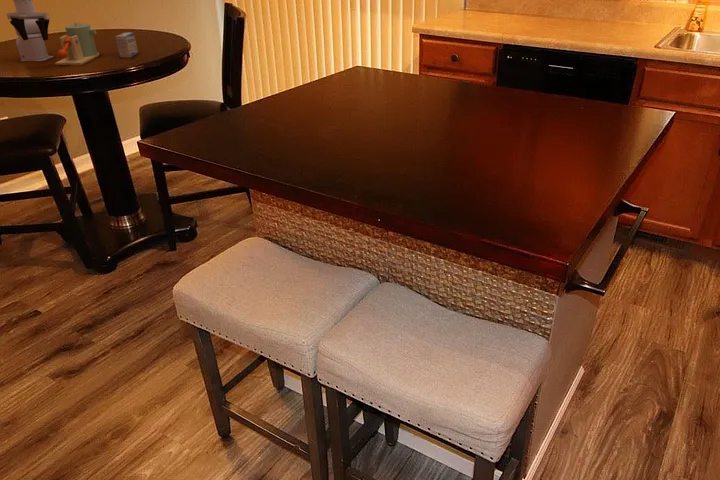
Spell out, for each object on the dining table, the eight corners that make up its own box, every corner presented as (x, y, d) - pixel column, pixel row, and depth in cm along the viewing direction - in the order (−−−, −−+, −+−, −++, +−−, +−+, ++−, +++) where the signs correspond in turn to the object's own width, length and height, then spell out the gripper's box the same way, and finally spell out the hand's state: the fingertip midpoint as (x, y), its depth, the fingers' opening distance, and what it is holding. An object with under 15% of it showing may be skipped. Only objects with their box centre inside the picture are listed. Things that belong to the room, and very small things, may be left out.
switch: (67, 60, 219) (63, 52, 216) (59, 60, 219) (54, 52, 217) (77, 42, 226) (73, 35, 223) (68, 42, 226) (64, 35, 223)
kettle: (68, 60, 231) (57, 24, 223) (81, 54, 240) (71, 19, 233) (96, 60, 231) (87, 25, 223) (109, 54, 240) (100, 20, 233)
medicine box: (131, 58, 233) (125, 36, 229) (120, 58, 233) (114, 36, 229) (138, 54, 240) (133, 32, 235) (128, 54, 240) (123, 32, 235)
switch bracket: (81, 66, 223) (73, 39, 217) (55, 65, 223) (47, 39, 217) (95, 58, 233) (88, 33, 227) (71, 58, 233) (63, 33, 228)
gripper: (-4, 1, 203) (10, 42, 210) (36, 2, 203) (49, 42, 210) (8, -1, 209) (21, 38, 216) (47, -1, 209) (59, 38, 216)
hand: (35, 39), depth 214 cm, fingers open, 7 cm apart
